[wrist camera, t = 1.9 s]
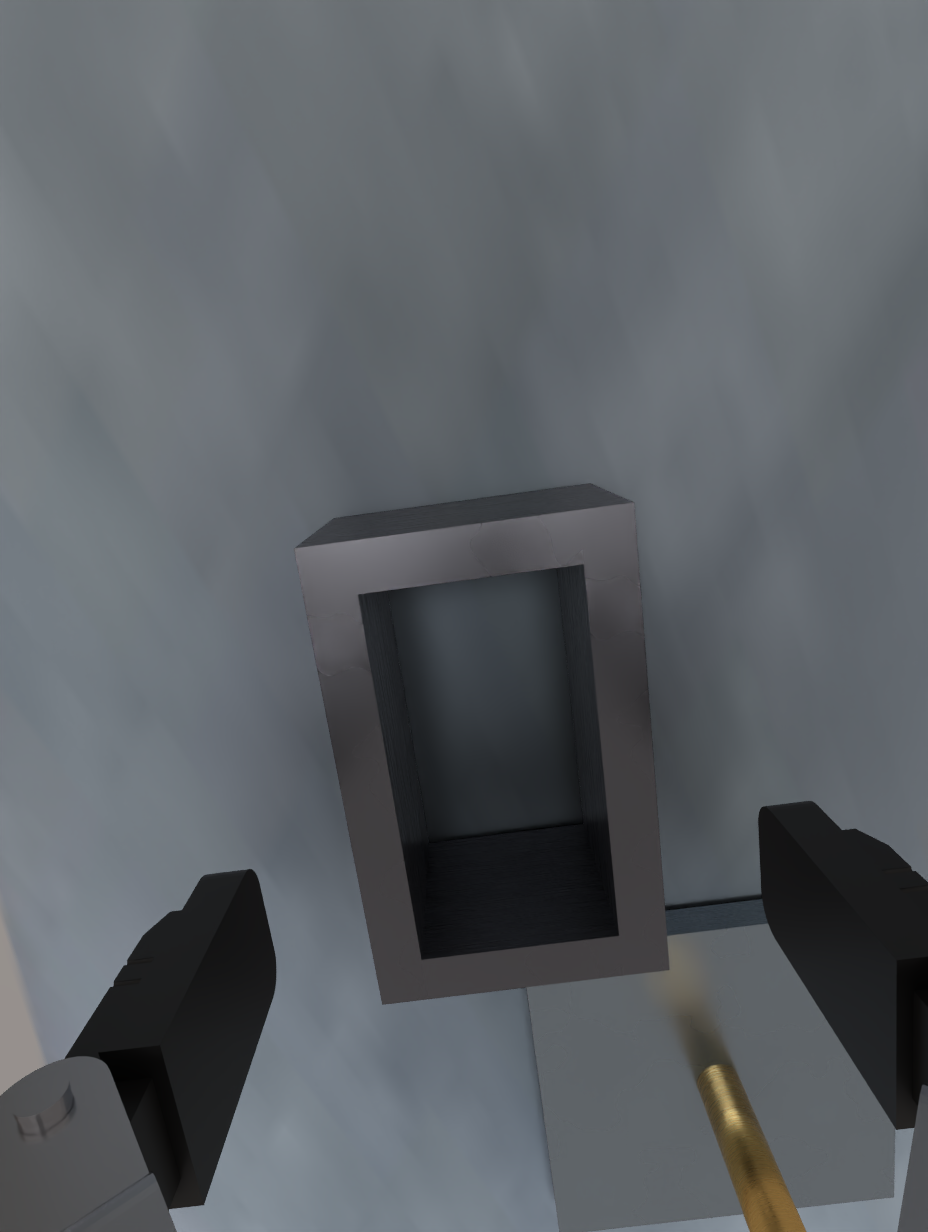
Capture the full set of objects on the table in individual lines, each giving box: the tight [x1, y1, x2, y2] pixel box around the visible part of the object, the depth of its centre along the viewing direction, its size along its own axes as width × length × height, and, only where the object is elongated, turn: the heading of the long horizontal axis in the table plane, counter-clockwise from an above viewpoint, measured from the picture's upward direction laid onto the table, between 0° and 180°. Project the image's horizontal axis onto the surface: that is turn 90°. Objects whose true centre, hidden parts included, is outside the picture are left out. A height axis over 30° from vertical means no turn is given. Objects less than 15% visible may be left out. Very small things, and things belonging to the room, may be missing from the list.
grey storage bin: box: [294, 484, 670, 1005], centre depth 17 cm, size 10×6×4 cm, turn 8°
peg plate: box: [527, 899, 895, 1232], centre depth 19 cm, size 10×10×6 cm
